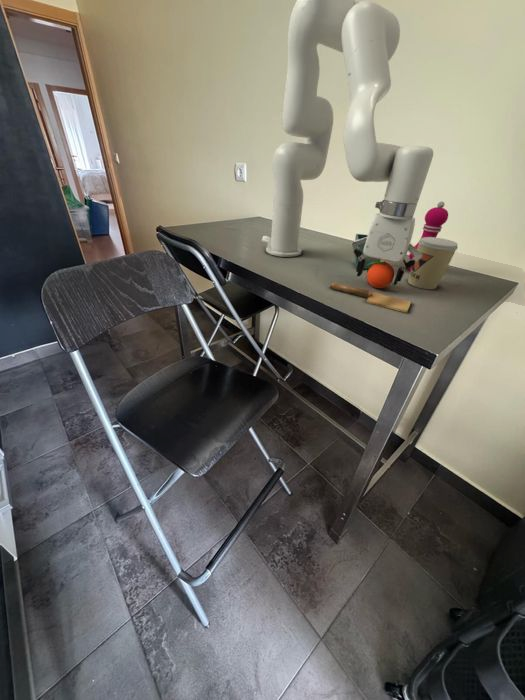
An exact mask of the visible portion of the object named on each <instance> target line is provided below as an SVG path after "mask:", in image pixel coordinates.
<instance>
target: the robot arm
mask: <svg viewBox="0 0 525 700" xmlns="http://www.w3.org/2000/svg"><path fill="white" fill-rule="evenodd" d="M287 29H288V31H287V68H286V77H285V78H286V79H285V88H284V98H283V108H282V119H281V121H282V124H281V125H282V128H283V131H284V132H285V133H286V135H289V136H292V137H297V138H304V142H296V141H287V142H284V143H281V144H280V145H278V146H277V148H276V149H275V151H274V154H273V157H272V171H273V204H272V205H273V207H272V220H271V236H268V235H263V236H262V238H261V243H264V244H267V245H266V248H265V252H266V253H268V254H269V255H271V256H275V257H281V258H295V257H298V256H301V255H302V249H301V247H299V238H300V230H301V221H302V213H303V205H304V190H303V185H302V181H312V180H313V181H314V180H316V179H317V178H319V177H320V176H321V175H322V174H323V172H324V170H325V167H326V163H327V158H328V153H329V147H330V142H331V138H332V132H333V126H334V111H333V110H334V109H333V107H332V104H331V102H330V101H329V100H328V99H326V98H325V97H322V96H318V86H319V80H320V68H321V67H320V58H319V54H318V53H319V52H318V49H317V47H318V45H322V46H323V47H326V48H329V49H332V50H335V51H337V52H340V53H342V54H343V59H344V65H345V66H344V67H345V71H346V78H347V83H348V84H347V85H348V91H349V98H350V106H349V108H348V111H347V113H346V118H345V123H344V127H343V134H342V135H343V138H342V139H343V149H344V153H345V160H346V164H347V168H348V171H349V173H350V175H351V177H352V178H354V180H356V181H358V182H362V183H371V182H372V183H383V182H387V185H386V189H385V192H384V196H383V200H381V201H376V203H375V206H374V208H375V209H378V210H379V212H378V213H376V214H375V216H374V217H373V220H372V222H371V225H370V228H369V231H368V233H367V235H368V236H367V237H365V238H362V239H359V240H356V241H355V240H354V241H352V243H351V245H352V249H353V255H354V254H355V255H356V257H357V260H358V265H357V267H356V269H355V272H356V277H361V275H362V274H363V272H364V270H365V269H364V265H365V261H366V260H365V258H366V257H367V256H368V257H371V258H376V259H381V260H382V261H385V262H386V261H387V262H390V263H397V264H398V266H399V267H398V269H397V271H396V273H395V274H396V275H395V276H394V279H393V282H392V284H393V285H394V286H397V284H398V282H401V281H402V279H403V276H404V273H405V271H406V270H408V269H407V268H409V267H411V266H413V265H414V264H415V263H416V262H417V261H418V260H419V259H420V258H421V257H422V256H423V254H422V253H421V252H420V251H419V250H417V249H416V248H415V245H413V244H411V242H412V238H413V235H414V230H415V225H416V224H415V223H416V217H414V215H415V213H416V209H417V206H418V203H419V200H420V197H421V195H422V191H423V188H424V186H425V183H426V179H427V176H428V173H429V170H430V167H431V164H432V161H433V157H434V149H433V148H432V147H429V146H426V145H425V146H423V145H422V146H421V145H403V146H400V145H396V144H390V143H385V142H377V137H376V130H375V117H374V116H375V110H376V106H377V104H378V103H379V102H381V101H382V100H383V99H384V98H385V97H386V95H387V94H388V93H389V91H390V89H391V86H392V80H391V71H390V64H389V63H390V60H392V58H393V56H394V54H396V51H397V48H398V45H399V42H400V38H401V37H400V36H401V26H400V21H399V19H398V17H397V15H395V14H394V13H393V12H391V11H390V10H388V9H387V8H385V7H384V6H382V5H380V4H379V3H376V2H375V1H372V0H362V1H357V0H296V1H295V3H294V6H293V8H292V11H291V14H290V18H289V23H288V28H287ZM363 243H365V246H364V251H363V254H362V252H361V251H360V249H359V245H360V244H363ZM408 252H409V254H410V253H412V254H413V255H414V258H413V259H412V260H410V259H409V260H408V261H407V260H406V257H407V255H408ZM381 260H380V261H381Z"/></svg>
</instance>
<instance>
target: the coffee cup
mask: <svg viewBox="0 0 525 700" xmlns="http://www.w3.org/2000/svg"><path fill="white" fill-rule="evenodd" d="M420 239H421V238H420ZM420 239H419V240H420ZM418 242H419V245H418V248H417V250H419V251H420V252H421V253H422V254H423V256H422V257H421V258H420V259H419V260H418V261H417V262H416V263H415V264H414V265H413V266H412V269H411V271H409V277H408V281H407V282H408V284H410V285H411V286H413V287H415V288H419V289H423V290H435V289H437V287H438V286H439V284H440V282H441V280H442V279H443V276H444V275H445V273H446V271H447V268H448V267H449V265H450V263H451V261H452V259H453V257H454V255H455V253H456V251H457V250H458V245H459V244H458V243H457V242H455V241H453V240H451V239H446V238H442V237H436V238H435V237H424V238H422V239H421V240H420V241H418Z"/></svg>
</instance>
